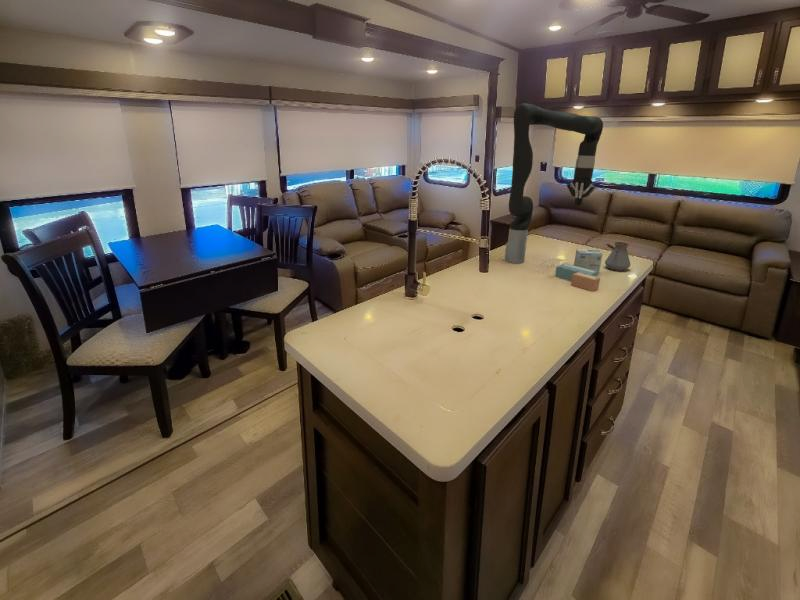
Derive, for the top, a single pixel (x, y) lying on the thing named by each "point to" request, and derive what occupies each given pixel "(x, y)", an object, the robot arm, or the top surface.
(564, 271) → the blue labelled box
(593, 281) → the orange labelled box
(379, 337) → the top surface
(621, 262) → the coffee pot
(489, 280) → the top surface
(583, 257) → the light bulb box
